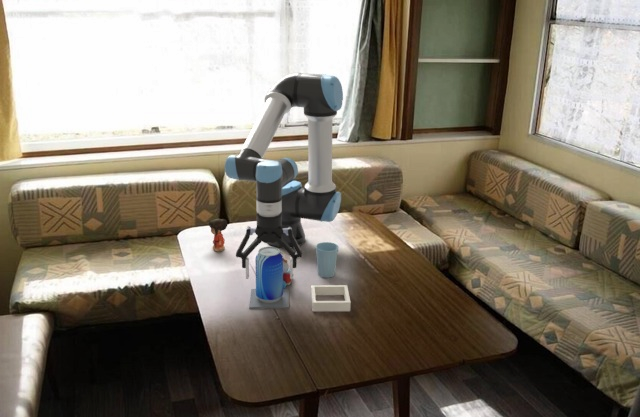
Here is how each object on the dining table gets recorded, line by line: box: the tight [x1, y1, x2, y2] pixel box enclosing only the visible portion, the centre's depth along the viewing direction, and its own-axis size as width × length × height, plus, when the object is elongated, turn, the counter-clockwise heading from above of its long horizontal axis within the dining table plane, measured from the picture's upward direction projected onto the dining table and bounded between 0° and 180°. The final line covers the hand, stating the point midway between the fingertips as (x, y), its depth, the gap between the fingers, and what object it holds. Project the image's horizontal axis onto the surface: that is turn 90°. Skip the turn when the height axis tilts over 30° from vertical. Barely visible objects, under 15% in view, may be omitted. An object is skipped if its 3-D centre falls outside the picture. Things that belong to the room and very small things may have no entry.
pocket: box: [310, 284, 352, 312], centre depth 194 cm, size 12×12×3 cm
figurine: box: [208, 218, 228, 253], centre depth 229 cm, size 6×6×12 cm
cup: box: [315, 241, 339, 279], centre depth 211 cm, size 8×8×10 cm
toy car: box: [283, 257, 293, 289], centre depth 204 cm, size 9×9×10 cm
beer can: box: [255, 246, 284, 303], centre depth 192 cm, size 8×8×16 cm
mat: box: [249, 288, 290, 310], centre depth 195 cm, size 12×12×1 cm
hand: (269, 277), depth 192 cm, fingers open, 13 cm apart
